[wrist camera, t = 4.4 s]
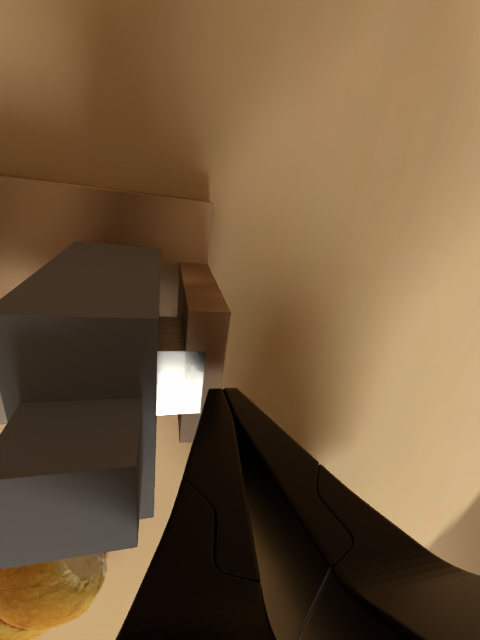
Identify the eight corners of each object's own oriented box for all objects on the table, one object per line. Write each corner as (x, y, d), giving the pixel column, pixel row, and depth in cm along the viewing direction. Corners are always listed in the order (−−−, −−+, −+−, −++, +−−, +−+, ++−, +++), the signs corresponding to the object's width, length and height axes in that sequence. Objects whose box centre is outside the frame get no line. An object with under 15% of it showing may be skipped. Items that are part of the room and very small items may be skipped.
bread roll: (-72, 573, 19) (-125, 662, 16) (50, 507, 19) (25, 583, 15) (26, 610, 23) (1, 688, 20) (128, 556, 23) (121, 625, 19)
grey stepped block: (160, 248, 12) (155, 370, 4) (157, 381, 14) (151, 594, 7) (75, 240, 11) (-99, 375, 4) (88, 383, 13) (3, 624, 6)
